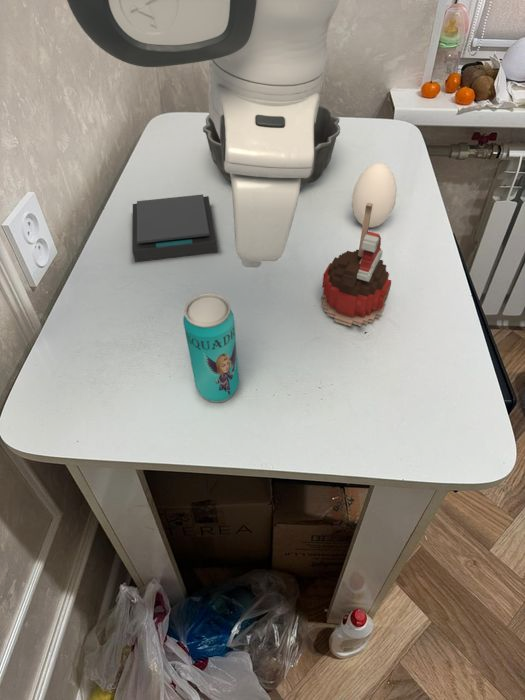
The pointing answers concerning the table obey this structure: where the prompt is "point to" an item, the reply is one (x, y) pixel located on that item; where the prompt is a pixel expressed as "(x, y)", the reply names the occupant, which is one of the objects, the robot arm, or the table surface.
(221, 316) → the beverage can
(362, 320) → the cake
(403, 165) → the table surface
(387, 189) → the egg
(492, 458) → the table surface
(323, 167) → the bundt pan
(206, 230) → the kitchen scale
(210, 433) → the table surface
